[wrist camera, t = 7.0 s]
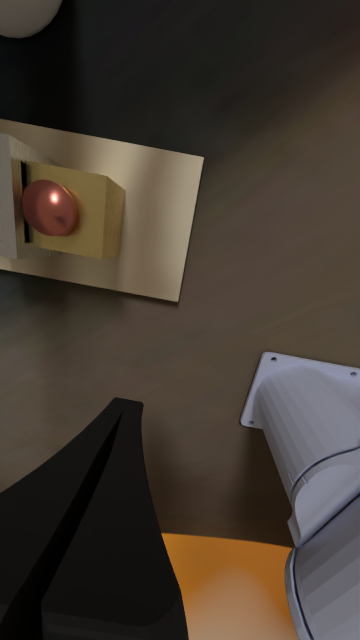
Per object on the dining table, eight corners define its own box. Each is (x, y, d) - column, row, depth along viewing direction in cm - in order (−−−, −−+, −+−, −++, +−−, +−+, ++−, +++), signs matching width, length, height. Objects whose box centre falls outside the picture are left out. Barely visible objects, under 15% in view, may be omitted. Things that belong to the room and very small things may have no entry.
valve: (125, 190, 16) (101, 171, 12) (119, 256, 17) (96, 260, 13) (19, 170, 16) (-43, 143, 12) (23, 237, 17) (-32, 235, 13)
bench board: (203, 160, 15) (203, 157, 15) (178, 300, 19) (177, 301, 18) (-71, 108, 15) (-81, 103, 15) (-48, 258, 19) (-55, 258, 18)
